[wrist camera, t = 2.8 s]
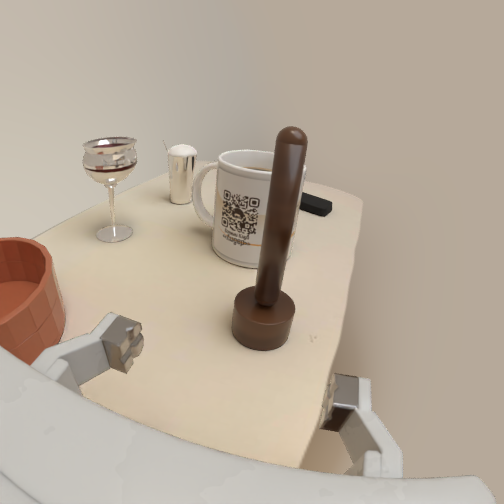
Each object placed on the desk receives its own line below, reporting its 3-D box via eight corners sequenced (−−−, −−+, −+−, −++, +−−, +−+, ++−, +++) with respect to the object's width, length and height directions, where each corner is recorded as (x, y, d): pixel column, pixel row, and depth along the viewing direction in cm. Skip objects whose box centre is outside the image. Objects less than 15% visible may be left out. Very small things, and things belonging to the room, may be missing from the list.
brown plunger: (288, 354, 25) (339, 139, 17) (227, 346, 25) (250, 126, 17) (288, 315, 30) (327, 128, 21) (235, 307, 30) (257, 117, 21)
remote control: (332, 211, 55) (260, 185, 61) (335, 202, 54) (261, 176, 60) (323, 220, 51) (246, 191, 57) (325, 210, 50) (247, 181, 56)
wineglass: (105, 219, 42) (101, 136, 36) (147, 225, 42) (146, 137, 36) (80, 241, 36) (70, 147, 30) (125, 249, 36) (120, 149, 30)
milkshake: (159, 197, 51) (160, 137, 46) (191, 194, 53) (194, 136, 48) (163, 207, 47) (164, 143, 42) (197, 204, 49) (201, 142, 44)
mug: (229, 278, 34) (239, 175, 28) (188, 229, 42) (191, 147, 37) (306, 259, 39) (325, 171, 33) (255, 218, 47) (264, 145, 42)
